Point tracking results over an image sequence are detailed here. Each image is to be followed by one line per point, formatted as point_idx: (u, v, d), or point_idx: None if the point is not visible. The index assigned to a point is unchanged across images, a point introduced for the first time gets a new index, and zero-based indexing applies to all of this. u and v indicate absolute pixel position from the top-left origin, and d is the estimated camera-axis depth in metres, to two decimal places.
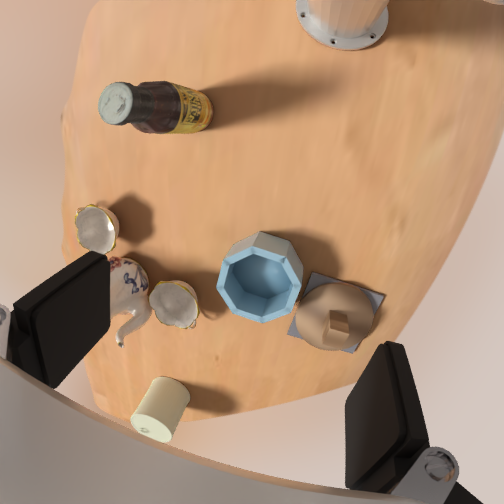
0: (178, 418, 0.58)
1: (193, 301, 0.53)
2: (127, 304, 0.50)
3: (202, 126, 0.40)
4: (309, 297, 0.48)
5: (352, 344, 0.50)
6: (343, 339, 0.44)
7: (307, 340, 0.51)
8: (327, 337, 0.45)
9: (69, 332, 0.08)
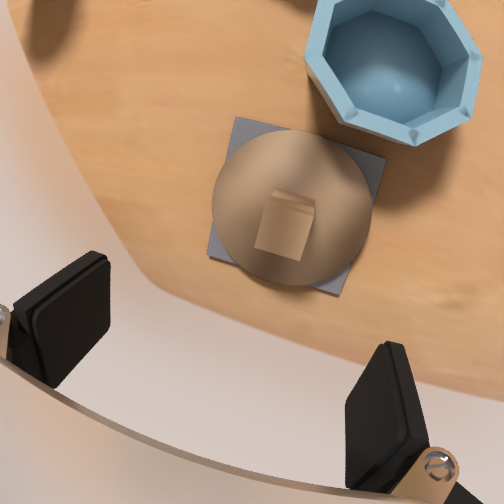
0: None
1: None
2: None
3: None
4: (341, 156, 0.22)
5: (233, 254, 0.27)
6: (282, 250, 0.20)
7: (231, 160, 0.24)
8: (286, 213, 0.19)
9: (69, 332, 0.08)
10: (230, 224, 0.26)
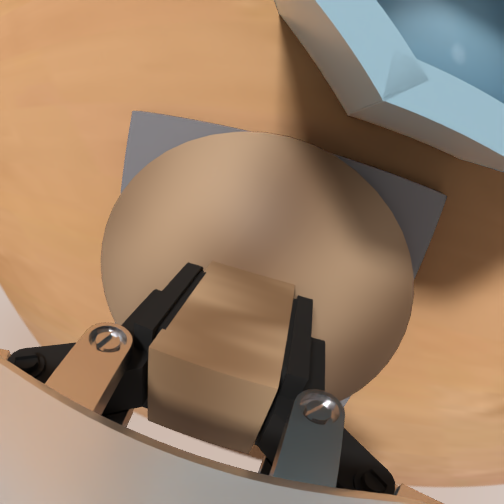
0: None
1: None
2: None
3: None
4: (356, 190, 0.10)
5: None
6: (207, 434, 0.08)
7: (123, 204, 0.11)
8: (205, 375, 0.07)
9: None
10: None
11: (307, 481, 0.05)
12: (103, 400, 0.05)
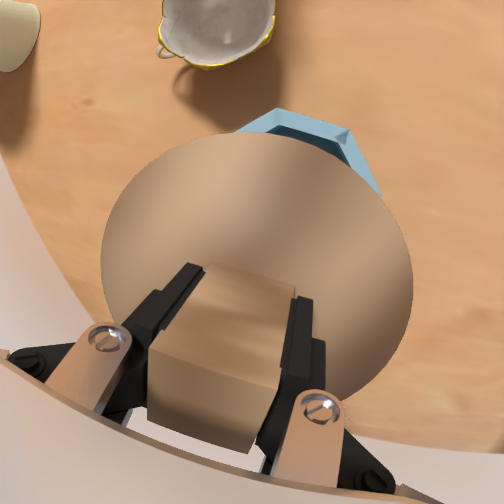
0: None
1: (215, 50, 0.21)
2: None
3: None
4: (356, 191, 0.10)
5: None
6: (206, 434, 0.08)
7: (123, 204, 0.11)
8: (204, 376, 0.07)
9: None
10: None
11: (308, 481, 0.05)
12: (103, 400, 0.05)
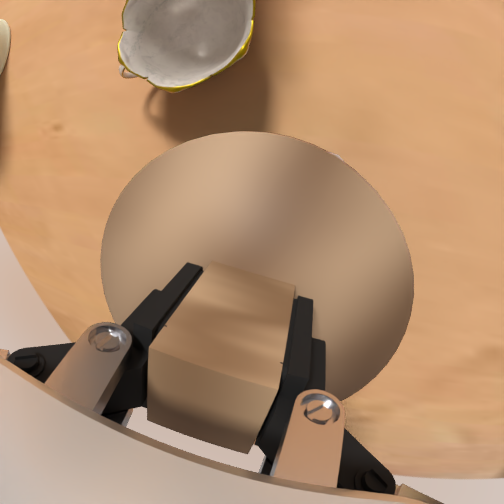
0: None
1: (188, 65, 0.18)
2: None
3: None
4: (357, 191, 0.10)
5: None
6: (206, 434, 0.08)
7: (123, 203, 0.11)
8: (205, 376, 0.07)
9: None
10: None
11: (308, 481, 0.05)
12: (103, 400, 0.05)
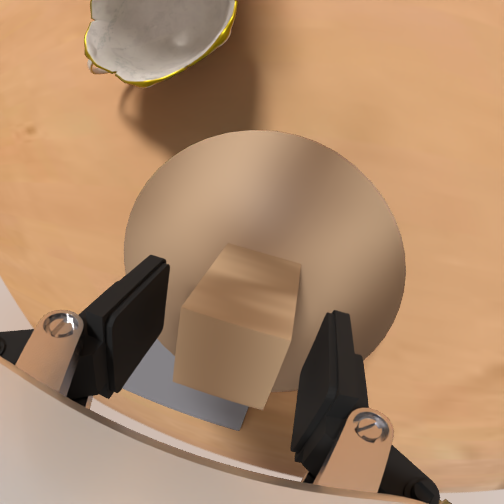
0: None
1: (165, 57, 0.16)
2: None
3: None
4: (353, 181, 0.11)
5: (167, 343, 0.16)
6: (227, 391, 0.09)
7: (147, 193, 0.13)
8: (229, 331, 0.08)
9: (135, 336, 0.09)
10: None
11: None
12: (65, 382, 0.05)
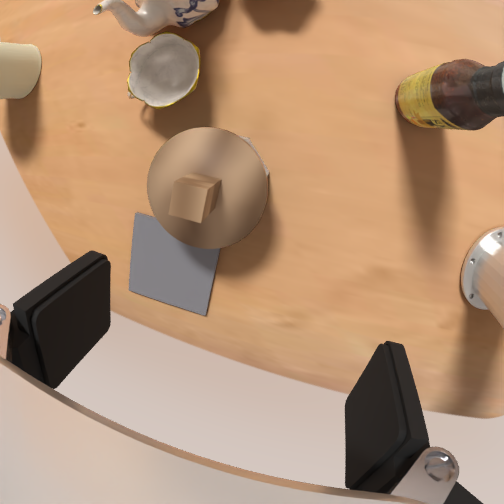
0: None
1: (166, 91, 0.33)
2: (157, 4, 0.25)
3: (408, 116, 0.29)
4: (239, 144, 0.29)
5: (164, 225, 0.33)
6: (188, 215, 0.27)
7: (159, 153, 0.30)
8: (188, 188, 0.26)
9: (69, 332, 0.08)
10: (160, 201, 0.32)
11: None
12: None
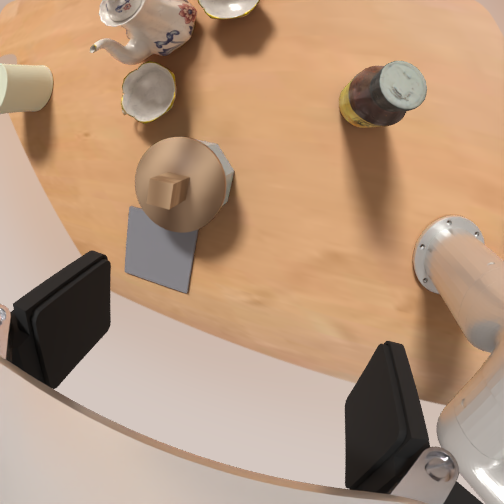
0: (11, 112, 0.40)
1: (153, 108, 0.42)
2: (141, 38, 0.34)
3: (347, 119, 0.37)
4: (202, 149, 0.37)
5: (148, 213, 0.42)
6: (160, 203, 0.35)
7: (144, 157, 0.39)
8: (160, 183, 0.35)
9: (69, 332, 0.08)
10: (145, 195, 0.41)
11: None
12: None
